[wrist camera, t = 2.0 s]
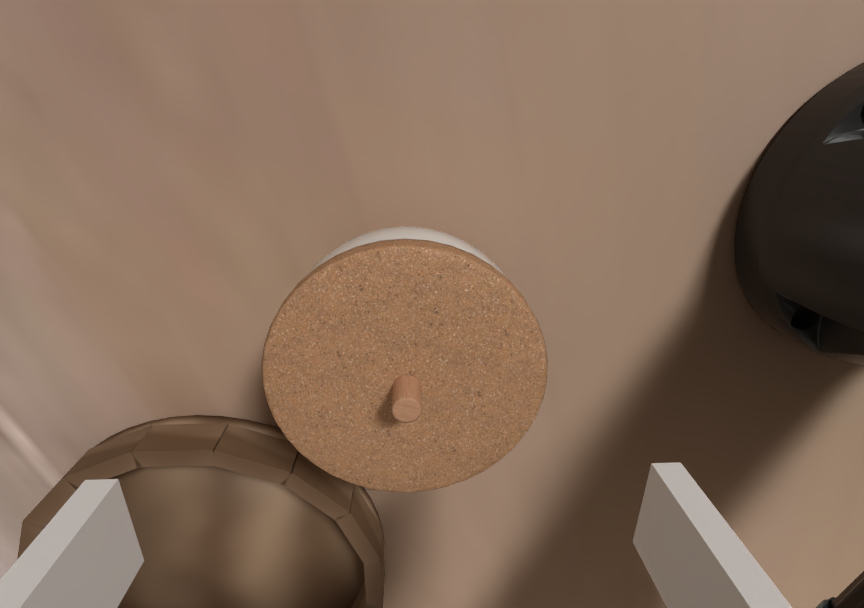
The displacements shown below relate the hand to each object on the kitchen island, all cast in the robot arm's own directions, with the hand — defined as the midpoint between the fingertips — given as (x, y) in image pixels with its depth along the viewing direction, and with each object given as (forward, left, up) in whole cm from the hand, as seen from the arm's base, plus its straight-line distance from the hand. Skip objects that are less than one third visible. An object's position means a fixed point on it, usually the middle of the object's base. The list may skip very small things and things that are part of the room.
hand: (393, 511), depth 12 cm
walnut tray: (+12, +17, -14) cm, 25 cm away
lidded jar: (0, 0, -14) cm, 14 cm away
